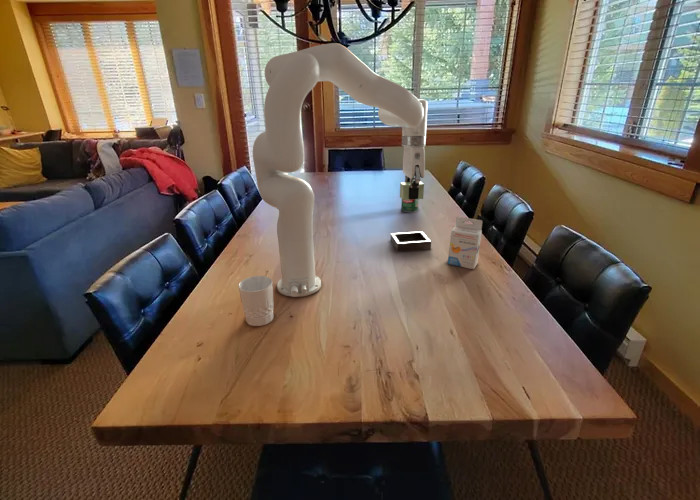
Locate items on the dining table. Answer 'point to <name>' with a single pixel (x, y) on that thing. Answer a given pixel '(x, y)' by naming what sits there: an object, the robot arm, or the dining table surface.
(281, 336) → the dining table surface
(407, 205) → the canned tomato
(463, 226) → the ink box
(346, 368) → the dining table surface
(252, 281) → the white cup
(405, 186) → the light green block
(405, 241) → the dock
